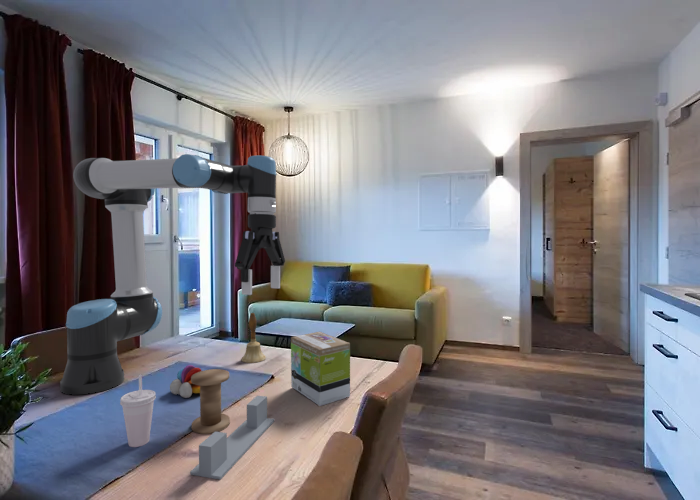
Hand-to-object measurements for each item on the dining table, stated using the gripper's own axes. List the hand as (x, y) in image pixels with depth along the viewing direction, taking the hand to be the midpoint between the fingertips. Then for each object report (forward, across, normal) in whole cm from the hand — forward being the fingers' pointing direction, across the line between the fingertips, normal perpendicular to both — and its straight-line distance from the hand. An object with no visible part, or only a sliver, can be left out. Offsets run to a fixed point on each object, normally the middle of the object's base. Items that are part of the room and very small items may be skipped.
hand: (262, 291), depth 107 cm
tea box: (+27, +3, -16) cm, 32 cm away
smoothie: (+27, -34, +7) cm, 44 cm away
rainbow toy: (+27, -10, +16) cm, 33 cm away
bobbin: (+27, -22, -2) cm, 35 cm away
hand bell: (+27, +20, +17) cm, 38 cm away
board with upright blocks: (+27, -27, -12) cm, 40 cm away
